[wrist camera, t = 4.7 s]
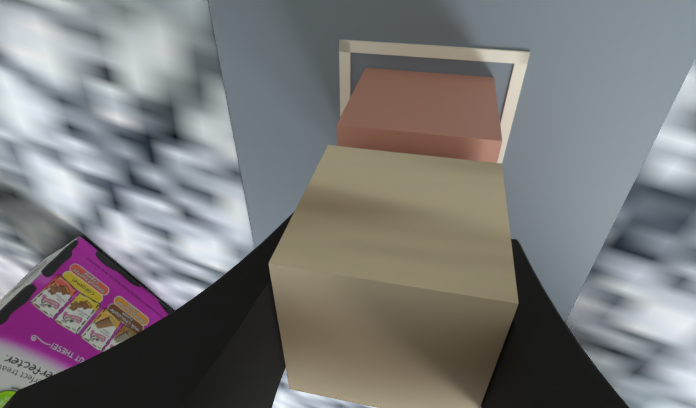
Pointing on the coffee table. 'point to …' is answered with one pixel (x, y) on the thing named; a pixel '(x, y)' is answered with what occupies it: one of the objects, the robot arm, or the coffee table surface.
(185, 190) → the coffee table surface
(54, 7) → the coffee table surface
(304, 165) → the grey flat plate
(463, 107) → the brick-red base block
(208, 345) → the robot arm
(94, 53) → the coffee table surface
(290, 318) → the maple block
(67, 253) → the candy bar box
